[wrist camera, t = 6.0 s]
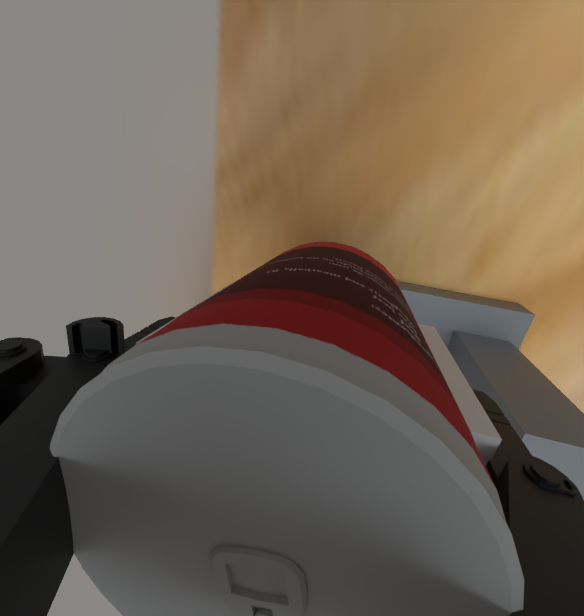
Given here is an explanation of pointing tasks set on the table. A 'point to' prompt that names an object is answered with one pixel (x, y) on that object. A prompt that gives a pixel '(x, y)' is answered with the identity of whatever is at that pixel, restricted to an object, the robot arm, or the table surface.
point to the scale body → (505, 371)
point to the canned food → (286, 459)
